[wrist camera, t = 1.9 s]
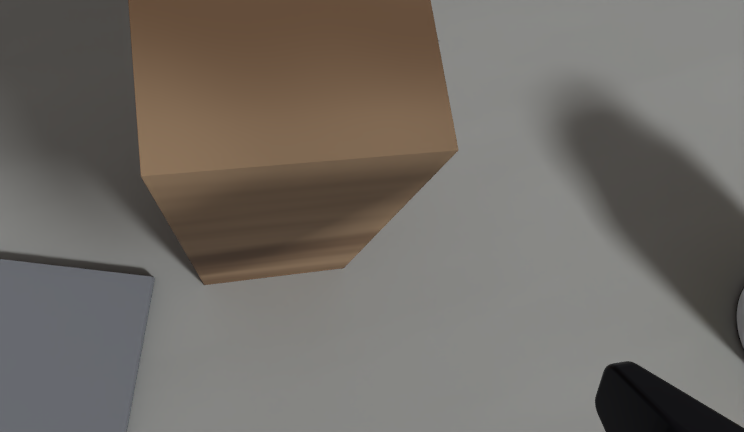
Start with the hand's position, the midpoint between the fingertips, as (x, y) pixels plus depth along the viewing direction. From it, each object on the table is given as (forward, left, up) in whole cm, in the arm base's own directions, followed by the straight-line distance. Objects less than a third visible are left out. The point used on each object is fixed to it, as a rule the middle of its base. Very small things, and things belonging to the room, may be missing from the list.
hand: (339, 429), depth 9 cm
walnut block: (+6, +2, -12) cm, 14 cm away
